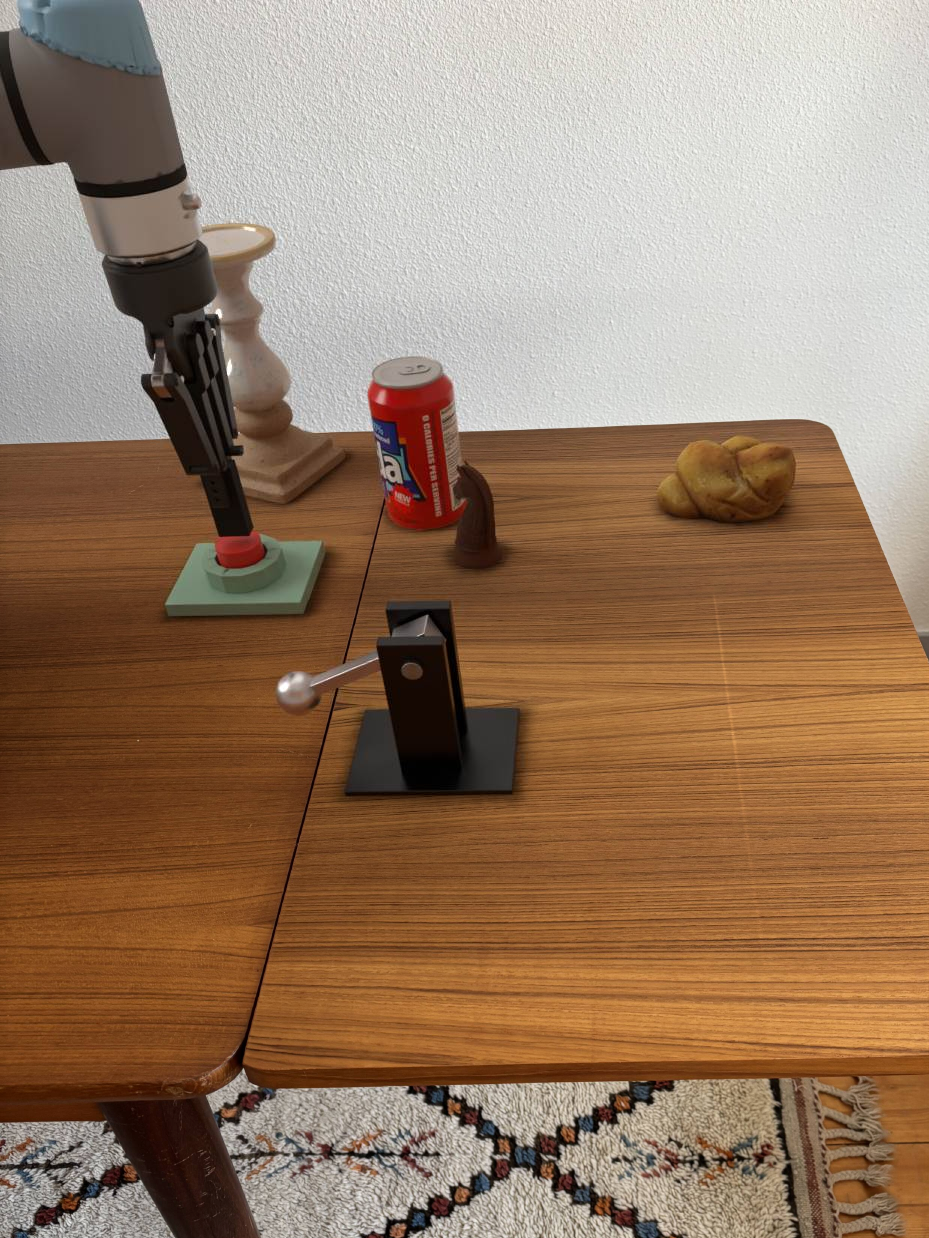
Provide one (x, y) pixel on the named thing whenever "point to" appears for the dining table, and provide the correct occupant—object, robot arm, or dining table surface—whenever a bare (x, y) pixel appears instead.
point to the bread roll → (729, 480)
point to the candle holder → (260, 376)
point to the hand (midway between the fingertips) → (236, 531)
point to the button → (239, 551)
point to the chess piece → (475, 521)
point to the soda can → (416, 441)
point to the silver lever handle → (339, 673)
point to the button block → (248, 581)
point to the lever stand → (430, 720)
